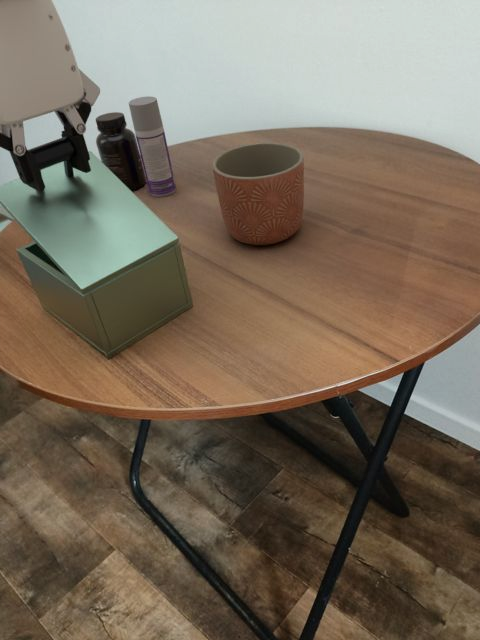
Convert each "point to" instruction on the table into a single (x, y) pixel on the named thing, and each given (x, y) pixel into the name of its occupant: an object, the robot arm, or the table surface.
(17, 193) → the green box lid
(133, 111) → the container
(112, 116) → the supplement bottle
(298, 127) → the table surface
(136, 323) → the box base
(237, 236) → the planter
